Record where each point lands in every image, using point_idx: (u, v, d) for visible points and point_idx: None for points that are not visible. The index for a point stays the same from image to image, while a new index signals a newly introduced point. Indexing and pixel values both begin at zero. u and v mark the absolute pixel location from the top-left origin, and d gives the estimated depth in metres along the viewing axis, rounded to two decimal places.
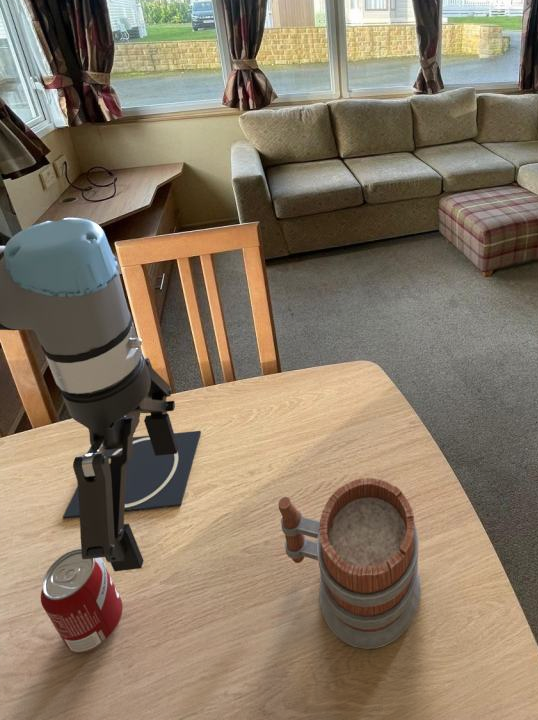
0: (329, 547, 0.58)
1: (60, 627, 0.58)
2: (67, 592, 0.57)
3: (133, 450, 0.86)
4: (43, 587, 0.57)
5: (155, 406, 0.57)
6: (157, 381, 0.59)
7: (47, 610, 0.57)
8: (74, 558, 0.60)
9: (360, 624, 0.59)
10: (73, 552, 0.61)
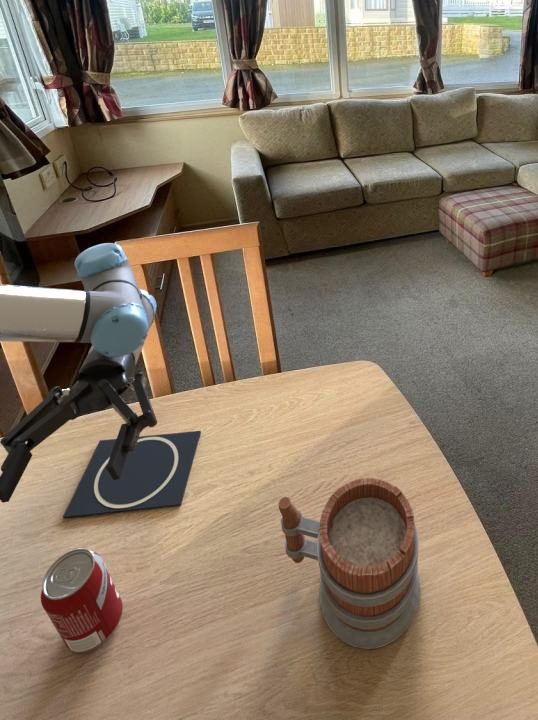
0: (329, 547, 0.58)
1: (60, 627, 0.58)
2: (67, 592, 0.57)
3: None
4: (43, 587, 0.57)
5: None
6: None
7: (47, 610, 0.57)
8: (74, 558, 0.60)
9: (360, 624, 0.59)
10: (73, 552, 0.61)
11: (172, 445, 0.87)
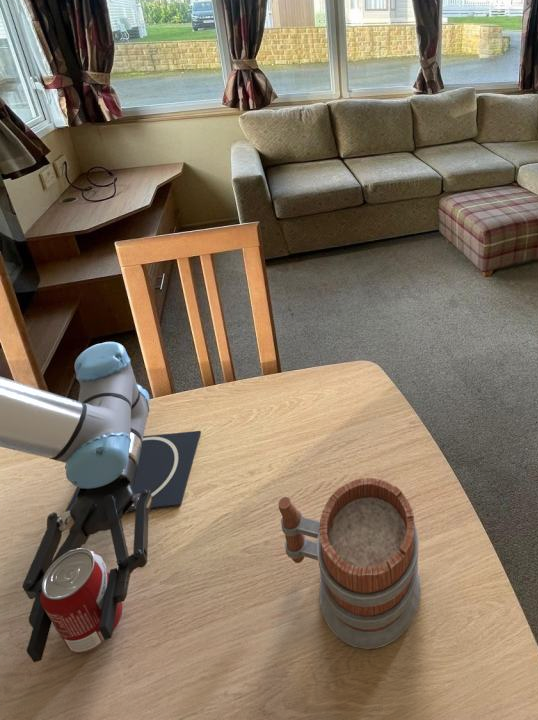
0: (329, 547, 0.58)
1: (60, 627, 0.58)
2: (67, 592, 0.57)
3: None
4: (43, 587, 0.57)
5: None
6: None
7: (47, 610, 0.57)
8: (74, 558, 0.60)
9: (360, 624, 0.59)
10: (73, 552, 0.61)
11: (172, 445, 0.87)
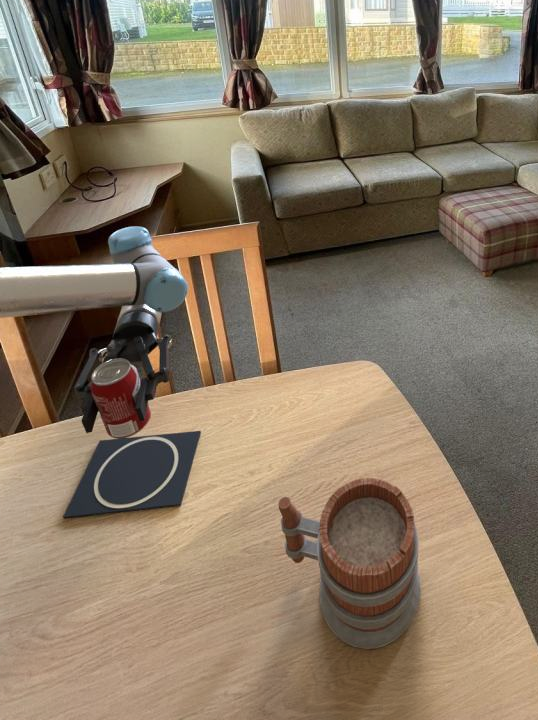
0: (329, 547, 0.58)
1: (105, 411, 0.75)
2: (111, 382, 0.74)
3: (133, 450, 0.86)
4: (92, 379, 0.75)
5: None
6: None
7: (96, 394, 0.74)
8: (114, 364, 0.78)
9: (360, 624, 0.59)
10: (113, 361, 0.78)
11: (172, 445, 0.87)
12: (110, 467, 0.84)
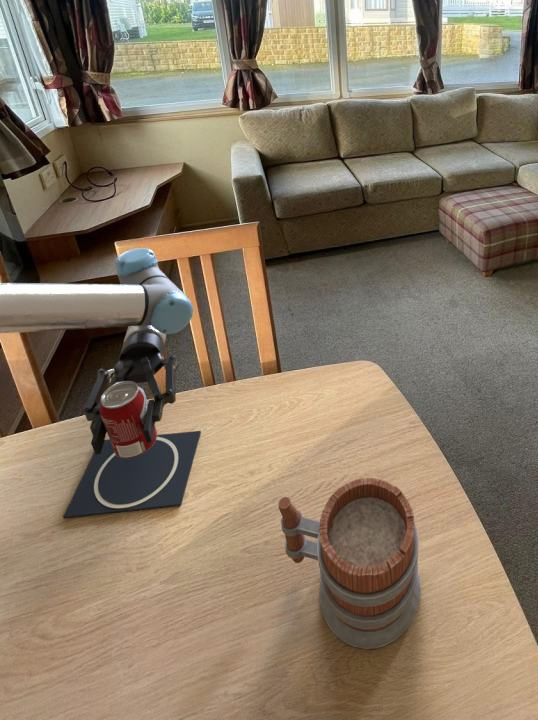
0: (329, 547, 0.58)
1: (113, 433, 0.78)
2: (119, 404, 0.77)
3: None
4: (101, 402, 0.77)
5: None
6: None
7: (105, 417, 0.76)
8: (123, 386, 0.80)
9: (360, 624, 0.59)
10: (121, 383, 0.81)
11: (172, 445, 0.87)
12: (110, 467, 0.84)
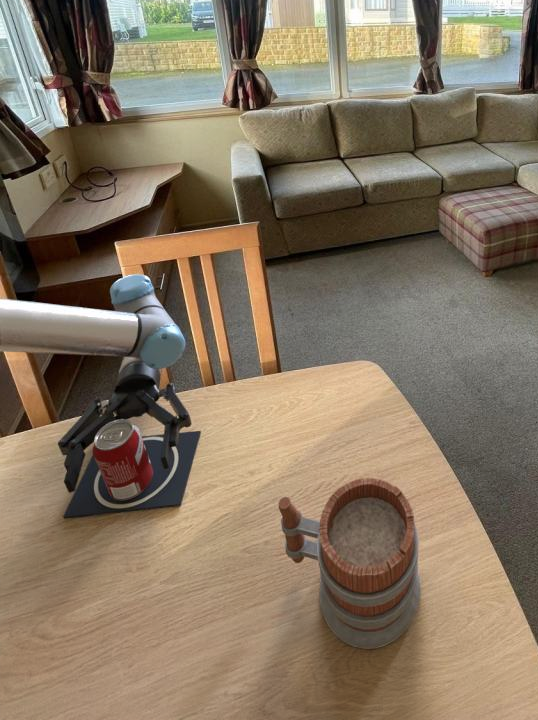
0: (329, 547, 0.58)
1: (107, 475, 0.75)
2: (113, 446, 0.74)
3: None
4: (95, 443, 0.74)
5: None
6: None
7: (98, 459, 0.74)
8: (117, 426, 0.77)
9: (360, 624, 0.59)
10: (116, 422, 0.78)
11: None
12: None
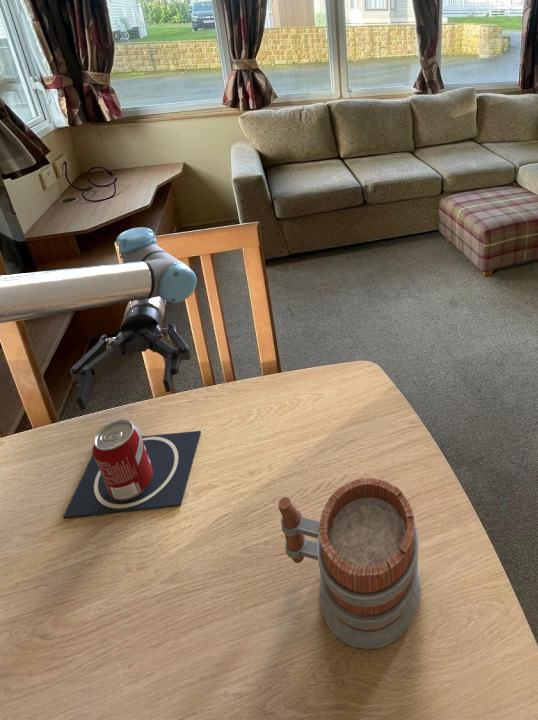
0: (329, 547, 0.58)
1: (107, 475, 0.75)
2: (113, 446, 0.74)
3: None
4: (95, 443, 0.74)
5: None
6: None
7: (98, 459, 0.74)
8: (117, 426, 0.77)
9: (360, 624, 0.59)
10: (116, 422, 0.78)
11: (172, 445, 0.87)
12: None
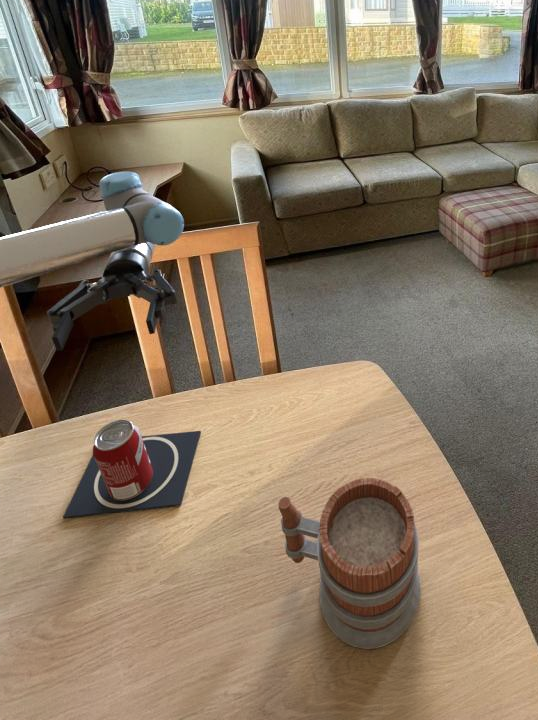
0: (329, 547, 0.58)
1: (107, 475, 0.75)
2: (113, 446, 0.74)
3: None
4: (95, 443, 0.74)
5: None
6: None
7: (98, 459, 0.74)
8: (117, 426, 0.77)
9: (360, 624, 0.59)
10: (116, 422, 0.78)
11: (172, 445, 0.87)
12: None
